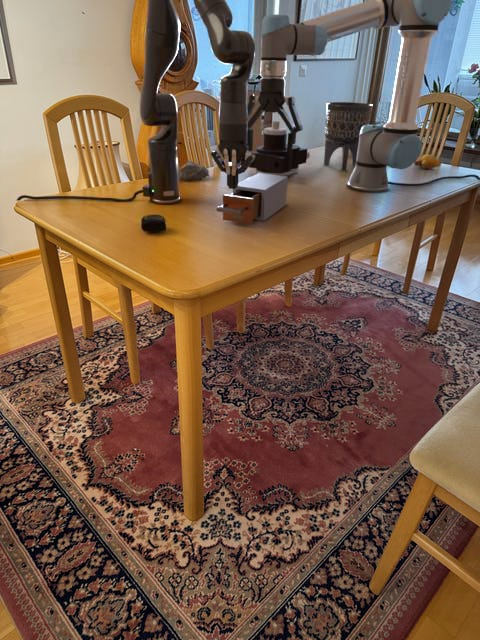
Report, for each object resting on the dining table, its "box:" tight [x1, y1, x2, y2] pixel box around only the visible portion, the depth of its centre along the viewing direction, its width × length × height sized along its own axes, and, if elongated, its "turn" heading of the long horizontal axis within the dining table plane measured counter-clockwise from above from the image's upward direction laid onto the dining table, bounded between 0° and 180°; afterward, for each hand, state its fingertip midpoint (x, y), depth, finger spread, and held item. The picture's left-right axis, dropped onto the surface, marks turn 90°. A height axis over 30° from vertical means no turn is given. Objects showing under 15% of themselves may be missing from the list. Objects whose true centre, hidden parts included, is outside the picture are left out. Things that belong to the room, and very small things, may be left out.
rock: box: [178, 160, 210, 182], centre depth 182 cm, size 13×9×6 cm, turn 131°
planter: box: [323, 101, 374, 172], centre depth 204 cm, size 20×20×26 cm
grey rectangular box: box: [232, 173, 289, 222], centre depth 146 cm, size 20×11×10 cm, turn 154°
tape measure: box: [140, 213, 167, 233], centre depth 128 cm, size 7×7×4 cm
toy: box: [413, 154, 442, 170], centre depth 212 cm, size 11×6×15 cm
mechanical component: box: [240, 120, 311, 177], centre depth 191 cm, size 22×21×30 cm
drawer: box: [216, 190, 262, 225], centre depth 138 cm, size 24×9×8 cm, turn 154°
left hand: (232, 188), depth 127 cm, fingers closed
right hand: (269, 153), depth 144 cm, fingers open, 13 cm apart
